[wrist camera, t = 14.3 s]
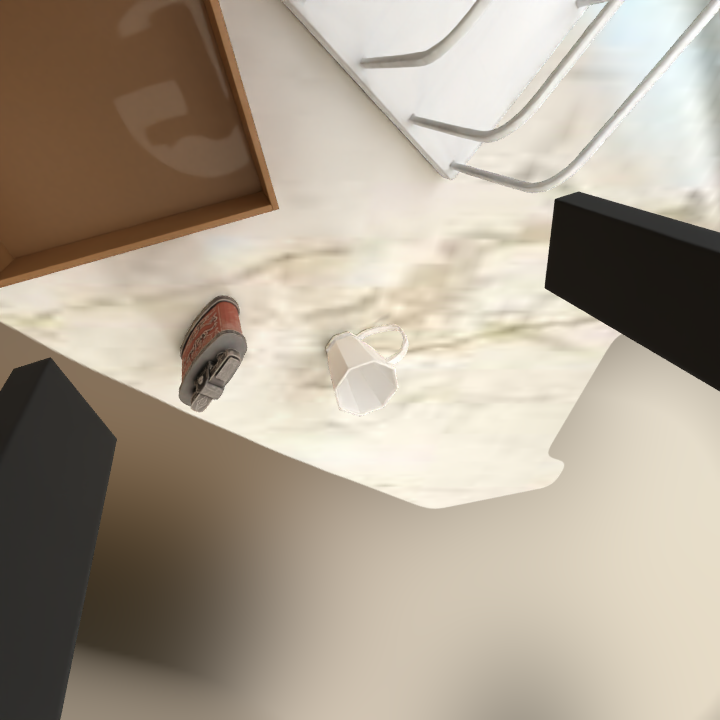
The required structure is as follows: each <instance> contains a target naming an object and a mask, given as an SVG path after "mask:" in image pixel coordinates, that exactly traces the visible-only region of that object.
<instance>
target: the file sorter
mask: <svg viewBox="0 0 720 720" xmlns="http://www.w3.org/2000/svg"><path fill="white" fill-rule="evenodd" d="M281 1H282V2H283V3H284V4H285V5H286V6H287V7H288V8H289V9H290V10H291V11H292V13H293V14H294V15H295V16H296V17H297V18H298V19H299V20H300V21H301V22H302V23H303V24H304V26H305V27H306V28H307V29H308V30H309V31H310V32H311V33H312V34H313V36H314V37H315V38H316V39H317V40H318V41H319V42H320V43H321V44H322V45H323V47H324V48H325V49H326V50H327V51H328V52H329V53H330V54H331V55H332V56H333V57H334V59H335V60H336V61H337V62H338V63H339V64H340V65H341V66H342V67H343V68H344V70H345V71H346V72H347V73H348V74H349V75H350V76H351V77H352V78H353V79H354V81H355V82H356V83H357V84H358V85H359V86H360V87H361V88H362V89H363V90H364V91H365V93H366V94H367V95H368V96H369V97H370V98H371V99H372V100H373V101H374V102H375V103H376V105H377V106H378V107H379V108H380V109H381V110H382V111H383V112H384V113H385V114H386V115H387V117H388V118H389V119H390V120H391V121H392V122H393V123H394V124H395V125H396V126H397V127H398V128H399V130H400V131H401V132H402V133H403V134H404V135H405V136H406V137H407V138H408V139H409V140H410V142H411V143H412V144H413V145H414V146H415V147H416V148H417V149H418V150H419V151H420V152H421V153H422V155H423V156H424V157H425V158H426V159H427V160H428V161H429V162H430V164H431V165H432V166H433V167H434V168H435V169H436V170H437V171H438V172H439V173H440V174H441V176H442V177H444V178H447V179H451V180H453V179H454V178H455V177H456V176H457V175H458V173H459V172H462V173H465V174H468V175H471V176H475V177H478V178H481V179H484V180H487V181H490V182H494V183H497V184H500V185H503V186H507V187H510V188H514V189H517V190H521V191H524V192H529V193H538V192H544V191H547V190H550V189H552V188H554V187H556V186H558V185H560V184H562V183H563V182H565V181H566V180H567V179H569V178H570V177H571V176H573V175H574V174H575V173H576V172H577V171H578V170H579V169H580V168H581V167H582V166H583V165H584V164H585V163H586V162H587V161H588V159H589V158H590V157H591V156H592V155H593V154H594V153H595V152H596V150H597V149H598V148H599V147H600V146H601V145H602V144H603V142H604V141H605V140H606V139H607V138H608V137H609V135H610V134H611V133H612V132H613V131H614V130H615V128H616V127H617V126H618V125H619V124H620V123H621V122H622V120H623V119H624V118H625V117H626V116H627V115H628V114H629V113H630V112H631V110H632V109H633V108H634V107H635V106H636V105H637V104H638V102H639V101H640V100H641V99H642V98H643V97H644V96H645V94H646V93H647V92H648V91H649V90H650V89H651V88H652V86H653V85H654V84H655V83H656V82H657V81H658V80H659V78H660V77H661V76H662V75H663V74H664V73H665V71H666V70H667V69H668V68H669V67H670V66H671V65H672V63H673V62H674V61H675V60H676V59H677V58H678V56H679V55H680V54H681V53H682V52H683V51H684V49H685V48H686V47H687V46H688V45H689V44H690V43H691V41H692V40H693V39H694V38H695V37H696V36H697V34H698V33H699V32H700V31H701V30H702V29H703V28H704V26H705V25H706V24H707V23H708V22H709V21H710V20H711V18H712V17H713V16H714V15H715V14H716V12H717V11H718V10H719V9H720V0H711V1H710V2H709V4H708V5H707V6H706V7H705V8H704V9H703V11H702V12H701V13H700V14H699V15H698V16H697V18H696V19H695V20H694V21H693V22H692V24H691V25H690V26H689V27H688V28H687V29H686V30H685V31H684V33H683V34H682V35H681V36H680V37H679V39H678V40H677V41H676V42H675V43H674V45H673V46H672V47H671V48H670V49H669V50H668V52H667V53H666V54H665V55H664V56H663V57H662V59H661V60H660V61H659V62H658V63H657V64H656V66H655V67H654V68H653V69H652V70H651V71H650V72H649V74H648V75H647V76H646V77H645V78H644V79H643V81H642V82H641V83H640V84H639V85H638V86H637V88H636V89H635V90H634V91H633V92H632V93H631V95H630V96H629V97H628V98H627V99H626V100H625V102H624V103H623V104H622V105H621V106H620V107H619V109H618V110H617V111H616V112H615V113H614V115H613V116H612V117H611V118H610V119H609V120H608V121H607V122H606V124H605V125H604V126H603V127H602V128H601V129H600V130H599V132H598V133H597V134H596V135H595V136H594V138H593V139H592V140H591V141H590V143H589V144H588V145H587V146H586V147H585V148H584V149H583V150H582V151H581V152H580V154H579V155H578V156H577V157H576V159H575V160H574V161H572V162H571V163H570V164H569V165H568V166H567V167H566V168H565V169H563V170H562V171H561V172H559V173H558V174H556V175H555V176H553V177H552V178H550V179H548V180H545V181H542V182H538V183H529V182H525V181H520V180H517V179H513V178H509V177H506V176H502V175H499V174H495V173H492V172H488V171H484V170H480V169H477V168H474V167H470V166H467V165H466V163H467V162H468V161H469V160H470V158H471V157H472V156H473V154H474V153H475V152H476V151H477V149H478V148H479V147H480V146H481V144H482V143H483V142H484V143H489V142H494V141H498V140H500V139H502V138H504V137H506V136H508V135H509V134H511V133H512V132H514V131H515V130H517V129H518V128H519V127H520V126H522V125H523V124H524V123H525V122H526V121H527V120H528V119H529V118H530V117H531V116H532V115H533V114H534V113H535V112H536V111H537V110H538V109H539V107H540V106H541V105H542V104H543V103H544V102H545V100H546V99H547V98H548V97H549V95H550V94H551V93H552V92H553V90H554V89H555V88H556V86H557V85H558V84H559V83H560V81H561V80H562V79H563V78H564V76H565V75H566V74H567V73H568V71H569V70H570V69H571V68H572V66H573V65H574V64H575V63H576V61H577V60H578V59H579V58H580V56H581V55H582V54H583V53H584V51H585V50H586V49H587V48H588V46H589V45H590V44H591V43H592V41H593V40H594V39H595V38H596V36H597V35H598V34H599V33H600V31H601V30H602V29H603V28H604V26H605V25H606V24H607V23H608V21H609V20H610V19H611V17H612V16H613V15H614V14H615V12H616V11H617V10H618V9H619V7H620V6H621V5H622V4H623V2H624V1H625V0H281ZM607 1H608V3H607V4H606V5H605V6H604V8H603V9H602V10H601V11H600V13H599V14H598V15H597V17H596V18H595V19H594V20H593V22H592V23H591V24H590V25H589V26H588V27H587V29H586V30H585V32H584V33H583V34H582V36H581V37H580V38H579V39H578V41H577V42H576V43H575V44H574V46H573V47H572V48H571V49H570V51H569V52H568V54H567V55H566V56H565V57H564V58H563V59H562V61H561V62H560V63H559V65H558V66H557V67H556V69H555V70H554V71H553V72H552V73H551V75H550V76H549V77H548V79H547V80H546V81H545V83H544V84H543V85H542V86H541V88H540V89H539V90H538V92H537V93H536V94H535V95H534V96H533V98H532V99H531V100H530V101H529V102H528V103H527V105H526V106H525V107H524V108H523V109H522V110H521V111H520V112H519V113H518V114H517V115H516V116H514V117H513V118H512V119H511V120H510V121H508V122H507V123H506V124H504V125H503V126H501V127H499V128H496V129H494V128H495V126H496V125H497V124H498V123H499V121H500V120H501V119H502V117H503V116H504V115H505V114H506V112H507V111H508V110H509V108H510V107H511V106H512V105H513V103H514V102H515V101H516V100H517V98H518V97H519V96H520V95H521V93H522V92H523V91H524V89H525V88H526V87H527V86H528V84H529V83H530V82H531V81H532V79H533V78H534V77H535V75H536V74H537V73H538V72H539V70H540V69H541V68H542V66H543V65H544V64H545V63H546V61H547V60H548V59H549V57H550V56H551V55H552V54H553V52H554V51H555V50H556V48H557V47H558V46H559V45H560V43H561V42H562V41H563V39H564V38H565V37H566V36H567V34H568V33H569V32H570V30H571V29H572V28H573V27H574V25H575V24H576V23H577V21H578V20H579V19H580V18H581V16H582V15H583V14H584V13H585V11H586V10H587V9H588V8H589V6H590V5H593V4H598V3H602V2H607Z"/></svg>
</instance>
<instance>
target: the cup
mask: <svg viewBox="0 0 720 720" xmlns="http://www.w3.org/2000/svg"><path fill="white" fill-rule="evenodd" d="M393 330H396V331H398V332H400V333H401V334H402V338H403V342H402V346H401V349H400V350H399V351H398V352H397V353H395V354H394V355H392V356H390V357H388V358H386V359H385V358H384V357H383V356H381V355H380V354H379V353H378V352H377V351H376V350H375V349H374V348H373V347H371V346H370V345H368V344H367V343H365V342H364V341H362V339H364V338H365V337H367V336H370V335H373V334H376V333H380V332H385V331H393ZM408 346H409V342H408V339H407V336H406V334H405V333H404V331H403V330H402V328H401V327H400V326H398V325H395V324H385V325H380V326H376V327H372V328H369V329H367V330H364V331H362V332H360V333H359V334H357V335H355V334H352V333H350V332H348V331H346V332H343V333H341V334H338V335H335V336H333V337H332V339H331V340H330V342H329V343H328V345H327V346H326V352H327V355H328V367H329V371H330V375H331V380H332V385H333V389H334V393H335V396H336V400H337V403H338V407H339V410H341V411H345V412H348V413H351V414H354V415H357V416H362V415H365V414H368V413H370V412H373V411H376V410H379V409H381V408H384V407H385V405H386V404H387V403H388V401H389V400H390V399H391V397H392V396H393V395H394V393H395V392H396V391H397V389H398V382H397V375H396V368H395V367H394V366H393V365H395V364H396V363H398V362H399V361H400V360H401V359H402V358H403V357H404V356H405V355H406V353H407V350H408Z"/></svg>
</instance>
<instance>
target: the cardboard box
mask: <svg viewBox="0 0 720 720" xmlns="http://www.w3.org/2000/svg"><path fill="white" fill-rule="evenodd" d="M277 209H279V207H278V203H277V200H276V196H275V193H274V189H273V186H272V183H271V179H270V176H269V172H268V169H267V165H266V162H265V159H264V155H263V152H262V148H261V145H260V141H259V138H258V135H257V131H256V128H255V124H254V121H253V118H252V114H251V111H250V107H249V104H248V100H247V97H246V94H245V90H244V87H243V83H242V80H241V76H240V73H239V70H238V66H237V63H236V59H235V56H234V52H233V49H232V46H231V42H230V39H229V35H228V32H227V28H226V25H225V22H224V18H223V15H222V11H221V8H220V4H219V1H218V0H0V288H1V287H5V286H8V285H12V284H15V283H19V282H22V281H26V280H30V279H33V278H37V277H40V276H44V275H47V274H51V273H54V272H58V271H61V270H65V269H68V268H72V267H76V266H79V265H83V264H86V263H90V262H93V261H97V260H100V259H104V258H107V257H111V256H115V255H118V254H122V253H125V252H129V251H132V250H136V249H139V248H143V247H146V246H150V245H153V244H157V243H161V242H164V241H168V240H171V239H175V238H178V237H182V236H185V235H189V234H192V233H196V232H199V231H203V230H207V229H210V228H214V227H217V226H221V225H224V224H228V223H231V222H235V221H238V220H242V219H246V218H249V217H253V216H256V215H260V214H263V213H267V212H270V211H273V210H277Z"/></svg>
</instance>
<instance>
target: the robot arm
mask: <svg viewBox="0 0 720 720" xmlns="http://www.w3.org/2000/svg"><path fill="white" fill-rule="evenodd" d="M545 289H547V290H549V291H550V292H552V293H554V294H555V295H557V296H559V297H561V298H562V299H564V300H566V301H567V302H569V303H571V304H572V305H574V306H576V307H578V308H579V309H581V310H583V311H584V312H586V313H588V314H589V315H591V316H593V317H594V318H596V319H598V320H600V321H601V322H603V323H605V324H606V325H608V326H610V327H611V328H613V329H615V330H617V331H618V332H620V333H622V334H623V335H625V336H627V337H628V338H630V339H632V340H634V341H635V342H637V343H639V344H640V345H642V346H644V347H646V348H647V349H649V350H651V351H652V352H654V353H656V354H657V355H659V356H661V357H662V358H664V359H666V360H668V361H669V362H671V363H673V364H674V365H676V366H678V367H679V368H681V369H683V370H684V371H686V372H688V373H690V374H691V375H693V376H695V377H696V378H698V379H700V380H701V381H703V382H705V383H706V384H708V385H710V386H712V387H713V388H715V389H717V390H718V391H720V233H719V232H716V231H712V230H709V229H706V228H702V227H699V226H695V225H692V224H688V223H685V222H681V221H678V220H674V219H671V218H668V217H664V216H661V215H657V214H654V213H650V212H647V211H643V210H640V209H637V208H633V207H630V206H626V205H623V204H619V203H616V202H612V201H609V200H606V199H602V198H599V197H595V196H592V195H588V194H585V193H581V192H576V193H573V194H570V195H566V196H563V197H560V198H557V199H555V203H554V211H553V220H552V229H551V237H550V246H549V254H548V263H547V271H546V280H545ZM116 441H117V439H116V437H115V436H114V435H113V434H112V432H111V431H110V430H109V429H108V427H107V426H106V425H105V424H104V423H103V421H102V420H101V419H100V418H99V416H98V415H97V414H96V413H95V411H94V410H93V409H92V408H91V407H90V405H89V404H88V403H87V402H86V400H85V399H84V398H83V397H82V395H81V394H80V393H79V392H78V391H77V390H76V388H75V387H74V386H73V384H72V383H71V382H70V381H69V379H68V378H67V377H66V376H65V374H64V373H63V372H62V371H61V370H60V368H59V367H58V366H57V365H56V363H55V362H54V361H53V360H52V359H51V358H47V359H44V360H41V361H38V362H34V363H31V364H28V365H25V366H21V367H18V368H15V369H13V371H12V373H11V374H10V376H9V378H8V379H7V381H6V383H5V384H4V386H3V388H2V390H1V391H0V720H60V718H61V713H62V708H63V703H64V698H65V693H66V688H67V683H68V678H69V673H70V669H71V663H72V659H73V653H74V648H75V643H76V639H77V634H78V629H79V624H80V619H81V614H82V609H83V604H84V599H85V594H86V589H87V584H88V580H89V575H90V569H91V565H92V560H93V555H94V550H95V545H96V540H97V535H98V530H99V525H100V520H101V515H102V510H103V505H104V500H105V495H106V491H107V486H108V480H109V475H110V471H111V466H112V461H113V456H114V451H115V446H116Z"/></svg>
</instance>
